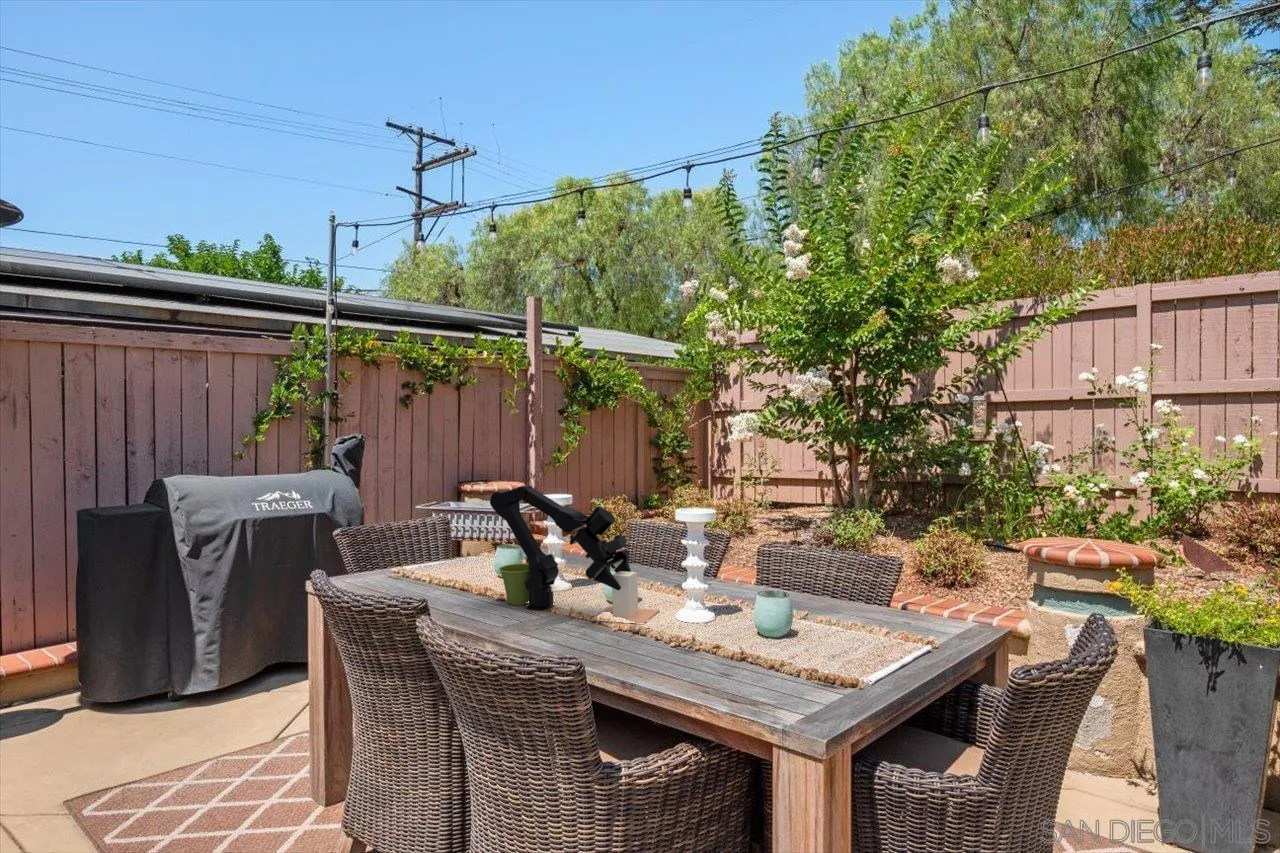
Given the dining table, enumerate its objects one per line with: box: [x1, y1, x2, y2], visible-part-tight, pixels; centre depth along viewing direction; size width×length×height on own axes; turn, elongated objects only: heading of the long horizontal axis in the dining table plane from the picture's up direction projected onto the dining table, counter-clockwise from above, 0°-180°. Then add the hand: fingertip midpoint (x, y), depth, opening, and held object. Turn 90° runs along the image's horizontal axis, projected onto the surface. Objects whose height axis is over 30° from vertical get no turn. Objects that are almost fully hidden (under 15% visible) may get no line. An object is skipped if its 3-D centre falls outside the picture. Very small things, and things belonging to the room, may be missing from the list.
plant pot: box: [498, 562, 531, 606], centre depth 248 cm, size 12×12×11 cm
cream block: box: [611, 571, 639, 618], centre depth 229 cm, size 6×6×12 cm
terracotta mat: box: [590, 606, 661, 624], centre depth 230 cm, size 16×14×1 cm
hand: (627, 585), depth 229 cm, fingers open, 9 cm apart
